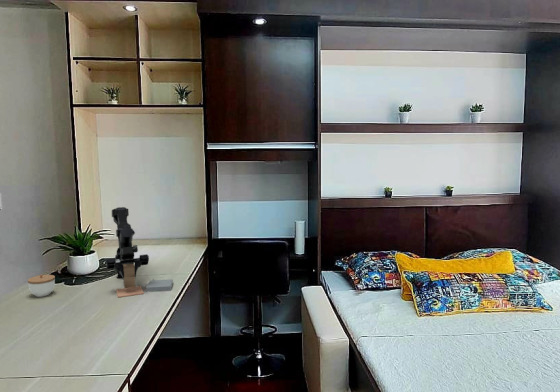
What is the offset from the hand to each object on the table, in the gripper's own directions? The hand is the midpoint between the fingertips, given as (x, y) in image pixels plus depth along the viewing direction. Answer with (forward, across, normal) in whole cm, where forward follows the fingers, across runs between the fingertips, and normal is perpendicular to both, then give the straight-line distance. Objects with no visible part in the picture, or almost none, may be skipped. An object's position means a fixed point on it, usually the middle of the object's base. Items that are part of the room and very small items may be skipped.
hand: (129, 277), depth 184 cm
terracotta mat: (+4, 0, +6) cm, 8 cm away
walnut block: (+2, 0, +4) cm, 5 cm away
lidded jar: (-6, -36, +16) cm, 40 cm away
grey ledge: (+4, +14, +7) cm, 16 cm away
